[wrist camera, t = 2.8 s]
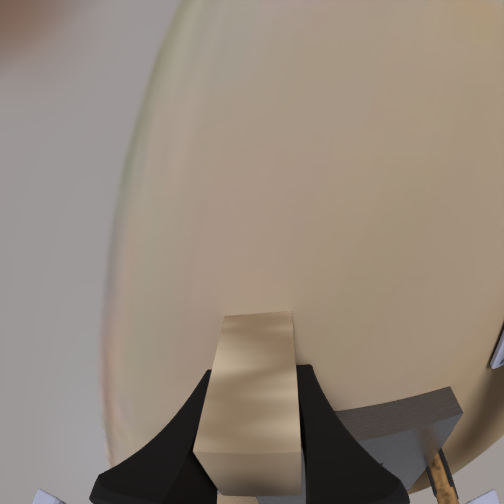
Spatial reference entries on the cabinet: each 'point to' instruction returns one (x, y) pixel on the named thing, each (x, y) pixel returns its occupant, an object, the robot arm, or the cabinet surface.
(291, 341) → the oak wedge
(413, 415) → the steel bracket head
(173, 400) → the cabinet surface
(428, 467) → the ammunition clip
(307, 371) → the robot arm
